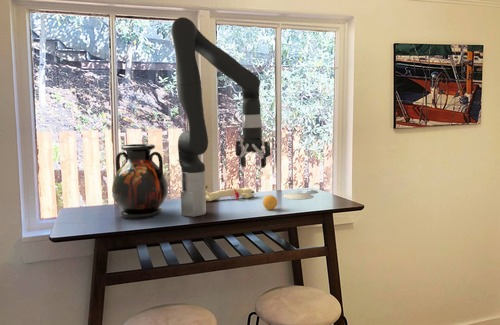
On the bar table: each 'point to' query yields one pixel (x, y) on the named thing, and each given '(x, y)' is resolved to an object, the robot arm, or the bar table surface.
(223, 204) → the bar table surface
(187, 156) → the robot arm
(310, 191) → the disc
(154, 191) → the amphora vase
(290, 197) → the disc
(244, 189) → the cat figure
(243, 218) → the bar table surface
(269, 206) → the ball
